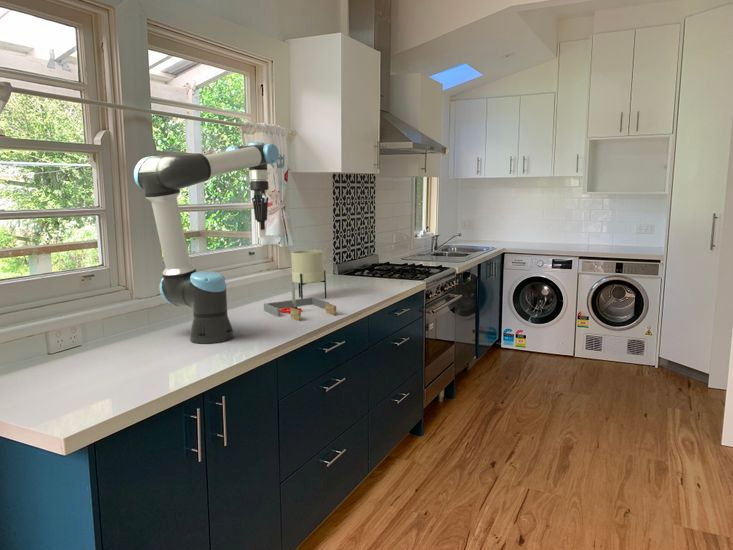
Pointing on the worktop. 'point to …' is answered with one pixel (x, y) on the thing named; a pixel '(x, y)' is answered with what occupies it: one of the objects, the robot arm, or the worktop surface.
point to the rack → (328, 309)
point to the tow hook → (285, 310)
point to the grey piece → (276, 306)
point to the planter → (308, 268)
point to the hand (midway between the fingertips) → (262, 237)
